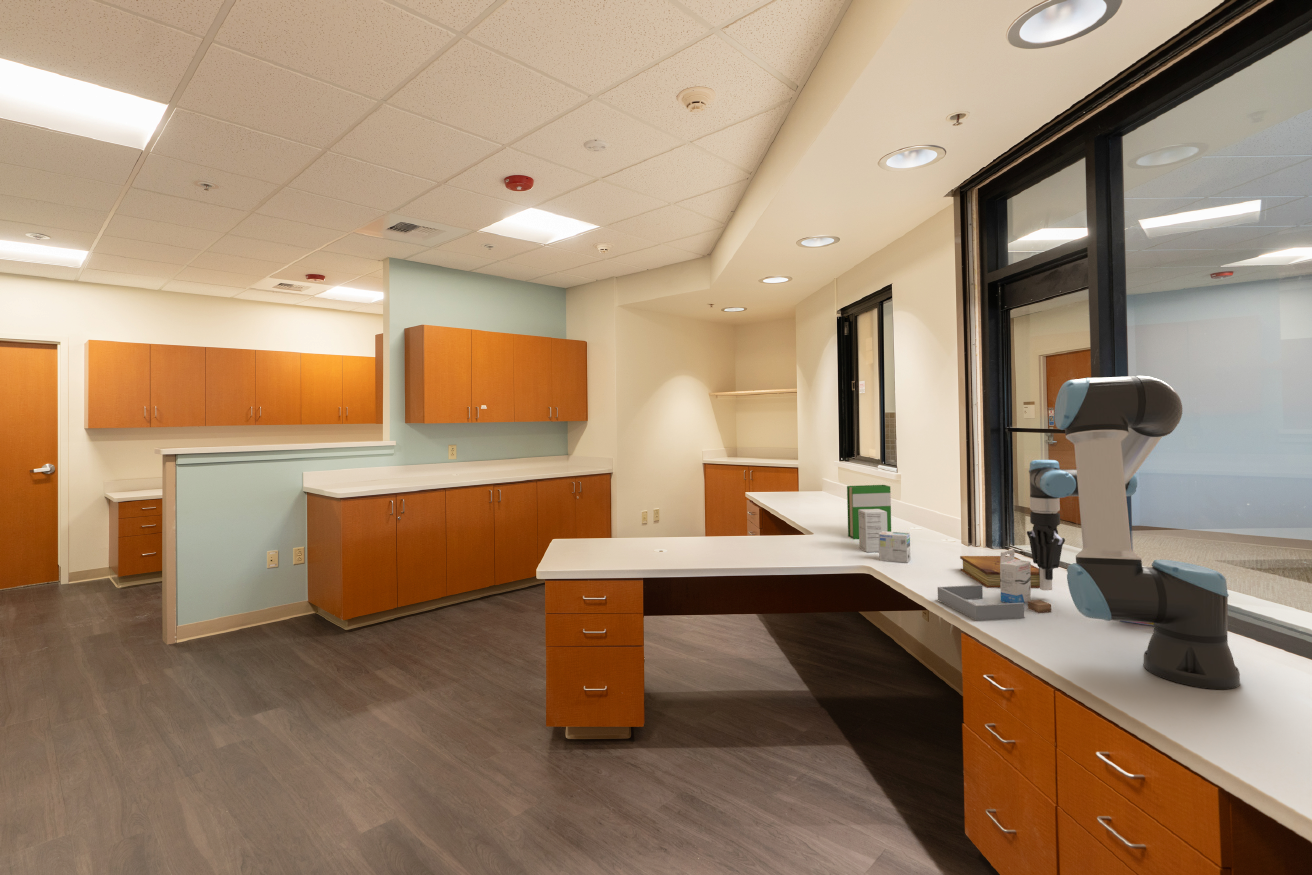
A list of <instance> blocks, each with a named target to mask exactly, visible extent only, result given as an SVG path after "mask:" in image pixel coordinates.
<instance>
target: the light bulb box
mask: <svg viewBox="0 0 1312 875" xmlns="http://www.w3.org/2000/svg"><path fill="white" fill-rule="evenodd" d="M878 555H879V556H878V557H879V558H878V560H879V561H883V562H885V561H886V562H894V563H904V564H905V563H906V564H908V563H909V561H911V559H912V558H911V534H910V532H903V531H902V532H900V531H891V532H887V531H882V532H880V533H879V552H878Z"/></svg>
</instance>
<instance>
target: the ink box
mask: <svg viewBox="0 0 1312 875" xmlns="http://www.w3.org/2000/svg"><path fill="white" fill-rule="evenodd" d="M1000 556H1001V557H1000V588H999V589H1000V590H999V591H1000V593H999V594H1000V602H1001V603H1024V604H1025V603H1026V602H1028V601H1032V600H1031V594H1032V593H1031V592H1032V591H1031V589H1032V588H1031V578H1030V565H1032V563H1031V561H1029V560H1023V559H1020V560H1018V559H1019V558H1018V559H1014V557H1015V549H1009V550H1006V551H1001V552H1000ZM1005 556H1008V557H1005Z"/></svg>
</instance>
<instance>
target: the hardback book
mask: <svg viewBox="0 0 1312 875" xmlns="http://www.w3.org/2000/svg"><path fill="white" fill-rule="evenodd" d="M846 493H847V494H846V496H847V498H846V500H847V503H846V505H847V508H846V509H847V536H848V537H849V538H850V537H851V538H852V540H859V513H858V510H860V509H880V510H883V511H886V512H887V532H892V505H891V504H892V503H891V502H892V499H891V498H892V497H891V496H892V495H891V486H890V485H886V484H869V485H868V484H867V485H866V484H864V485H847V486H846Z"/></svg>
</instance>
